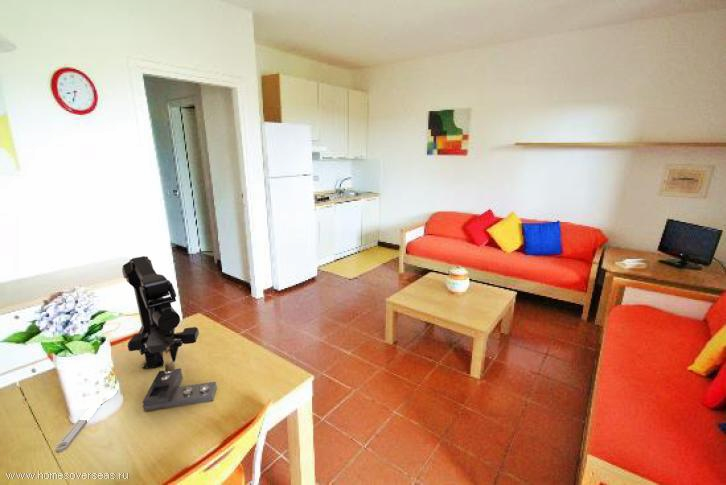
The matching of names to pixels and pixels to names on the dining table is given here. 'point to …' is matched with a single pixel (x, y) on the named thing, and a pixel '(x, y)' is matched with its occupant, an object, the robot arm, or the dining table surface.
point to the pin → (168, 360)
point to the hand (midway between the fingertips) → (168, 362)
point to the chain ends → (176, 391)
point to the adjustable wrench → (71, 435)
